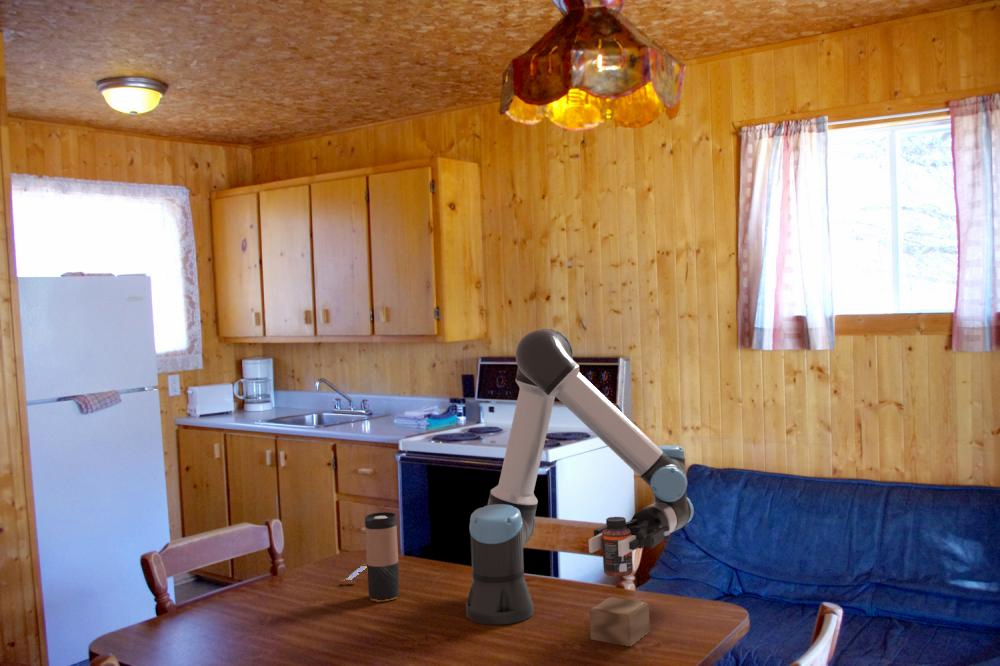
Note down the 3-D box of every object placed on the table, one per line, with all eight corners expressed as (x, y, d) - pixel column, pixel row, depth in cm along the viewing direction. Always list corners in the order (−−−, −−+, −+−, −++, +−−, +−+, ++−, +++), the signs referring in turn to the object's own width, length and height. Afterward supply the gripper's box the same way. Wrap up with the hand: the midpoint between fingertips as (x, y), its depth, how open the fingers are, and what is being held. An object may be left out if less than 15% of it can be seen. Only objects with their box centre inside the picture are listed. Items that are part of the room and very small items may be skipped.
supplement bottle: (632, 577, 176) (629, 521, 176) (602, 577, 177) (599, 521, 177) (633, 569, 182) (631, 515, 182) (605, 569, 183) (602, 515, 183)
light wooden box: (590, 639, 178) (589, 608, 178) (610, 625, 186) (609, 595, 186) (630, 646, 173) (629, 615, 173) (649, 632, 181) (648, 602, 181)
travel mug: (401, 592, 216) (397, 511, 216) (398, 601, 208) (394, 518, 208) (370, 593, 216) (366, 513, 215) (366, 603, 208) (362, 519, 208)
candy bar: (353, 588, 223) (353, 581, 223) (338, 587, 224) (337, 580, 224) (376, 569, 239) (376, 562, 239) (362, 569, 240) (362, 562, 240)
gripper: (694, 544, 189) (649, 572, 170) (615, 535, 199) (565, 561, 180) (693, 509, 189) (647, 533, 170) (614, 502, 199) (563, 525, 180)
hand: (605, 547), depth 175 cm, fingers closed on supplement bottle, 6 cm apart
